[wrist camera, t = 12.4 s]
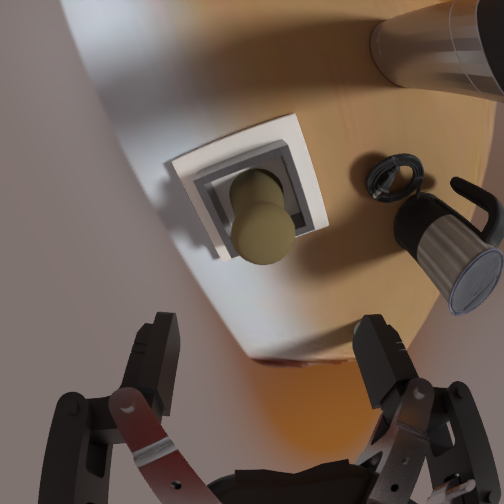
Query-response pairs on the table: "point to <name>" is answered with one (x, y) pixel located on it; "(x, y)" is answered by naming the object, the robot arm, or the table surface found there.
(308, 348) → the table surface
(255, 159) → the socket collar
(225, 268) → the table surface
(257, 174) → the cork
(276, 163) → the socket base
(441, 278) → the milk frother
